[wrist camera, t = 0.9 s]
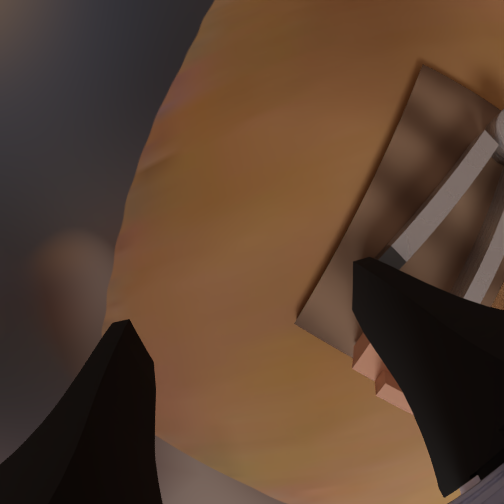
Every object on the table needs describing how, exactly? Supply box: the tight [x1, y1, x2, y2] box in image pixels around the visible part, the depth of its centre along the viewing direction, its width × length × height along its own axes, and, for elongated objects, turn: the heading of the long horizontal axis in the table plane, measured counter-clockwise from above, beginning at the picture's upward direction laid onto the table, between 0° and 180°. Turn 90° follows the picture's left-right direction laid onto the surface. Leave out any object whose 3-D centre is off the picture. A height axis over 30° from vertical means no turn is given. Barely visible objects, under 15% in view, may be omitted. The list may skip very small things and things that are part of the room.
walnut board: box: [294, 65, 504, 358], centre depth 20 cm, size 25×14×1 cm, turn 151°
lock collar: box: [352, 333, 413, 415], centre depth 18 cm, size 3×8×6 cm, turn 62°
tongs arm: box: [374, 130, 499, 270], centre depth 19 cm, size 14×2×3 cm, turn 137°
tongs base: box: [450, 109, 504, 304], centre depth 17 cm, size 19×4×4 cm, turn 151°
